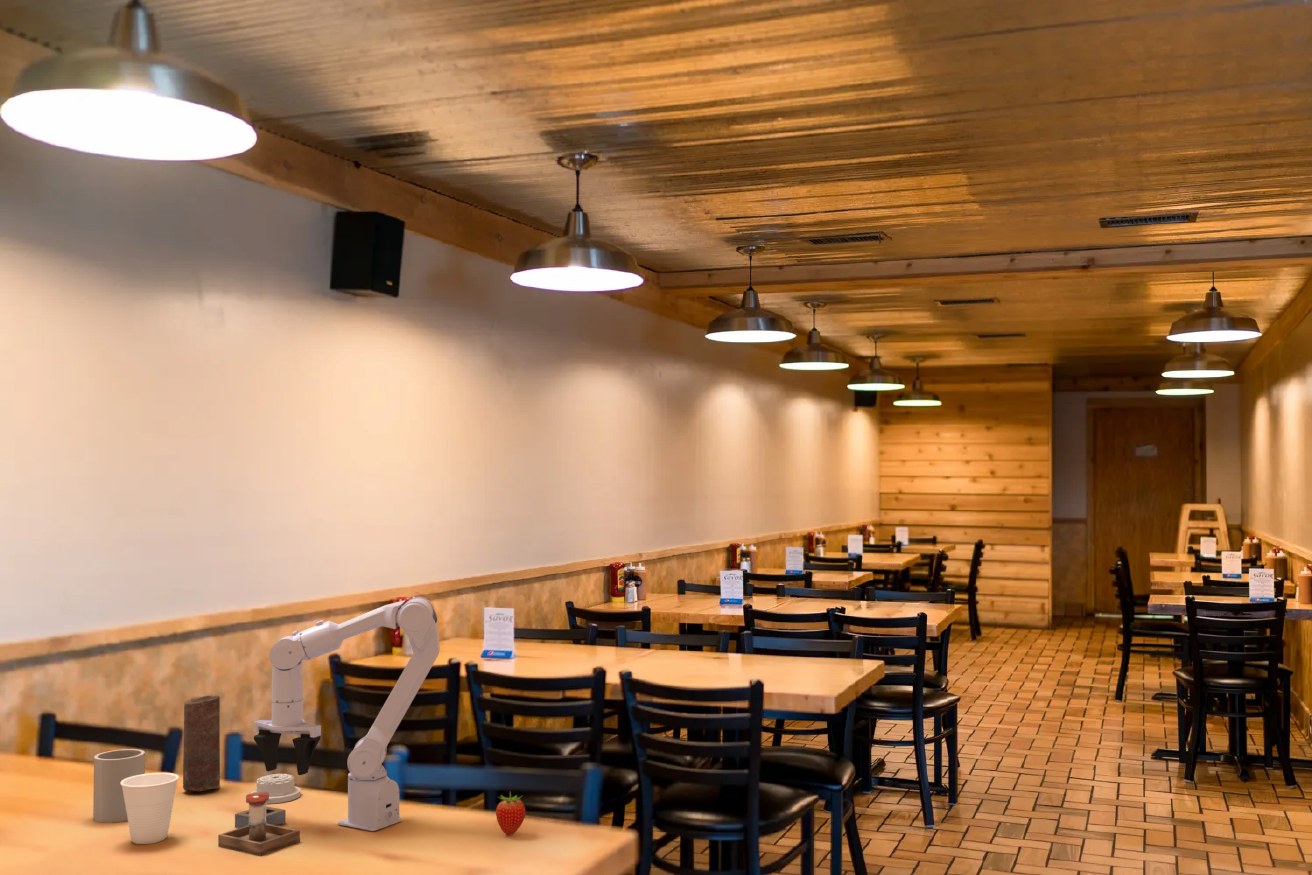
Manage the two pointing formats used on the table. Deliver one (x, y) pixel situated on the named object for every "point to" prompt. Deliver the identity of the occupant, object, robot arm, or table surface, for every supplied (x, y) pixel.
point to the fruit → (510, 814)
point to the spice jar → (257, 815)
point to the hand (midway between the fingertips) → (287, 772)
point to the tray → (274, 841)
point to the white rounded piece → (278, 788)
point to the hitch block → (272, 817)
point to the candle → (201, 743)
